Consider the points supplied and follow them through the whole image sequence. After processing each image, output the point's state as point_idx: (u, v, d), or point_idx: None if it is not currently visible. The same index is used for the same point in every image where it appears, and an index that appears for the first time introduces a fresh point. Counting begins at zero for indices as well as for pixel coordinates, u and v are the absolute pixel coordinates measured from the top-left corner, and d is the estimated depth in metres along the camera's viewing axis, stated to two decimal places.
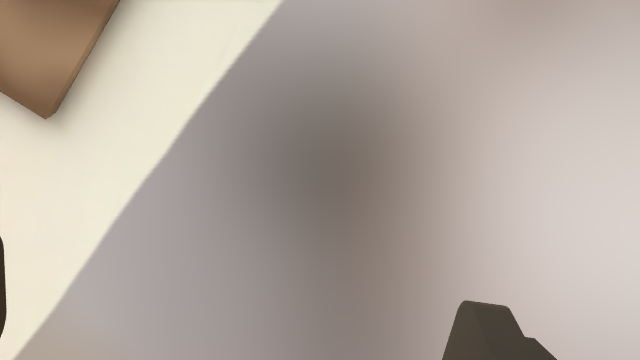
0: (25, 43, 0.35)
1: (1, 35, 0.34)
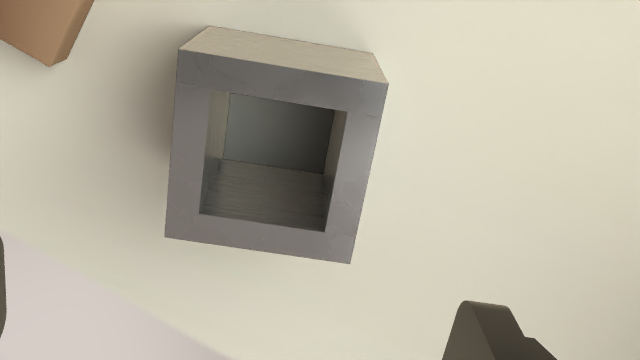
0: None
1: None
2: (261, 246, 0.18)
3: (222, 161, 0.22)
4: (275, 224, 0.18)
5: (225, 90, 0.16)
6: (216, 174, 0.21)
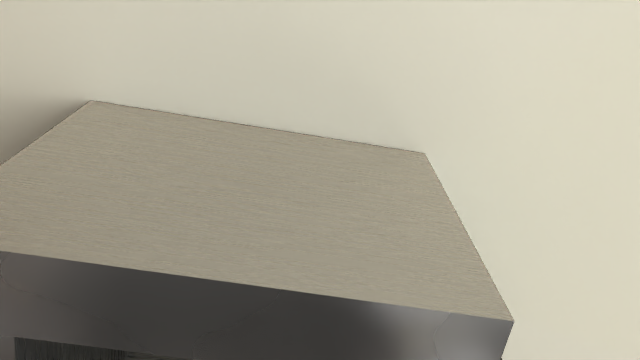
0: None
1: None
2: None
3: None
4: None
5: (56, 338, 0.06)
6: None
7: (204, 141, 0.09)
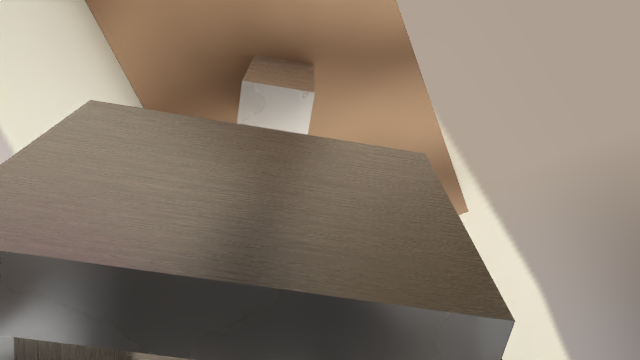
0: None
1: None
2: None
3: None
4: None
5: (55, 338, 0.06)
6: None
7: (204, 141, 0.09)
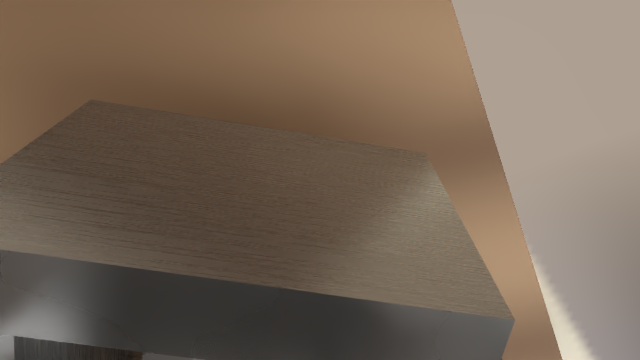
0: (26, 51, 0.13)
1: (70, 7, 0.12)
2: None
3: None
4: None
5: (55, 337, 0.06)
6: None
7: (204, 140, 0.09)
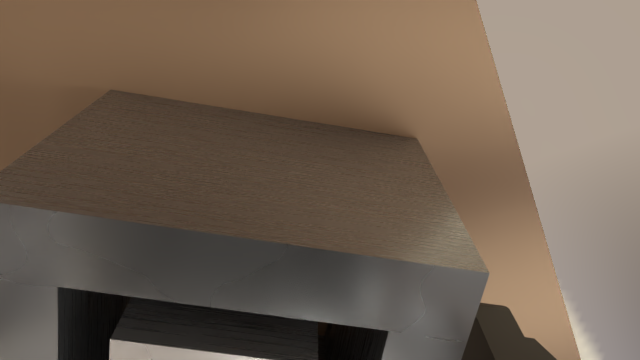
0: None
1: (29, 15, 0.10)
2: None
3: None
4: None
5: (93, 288, 0.07)
6: None
7: (216, 125, 0.10)
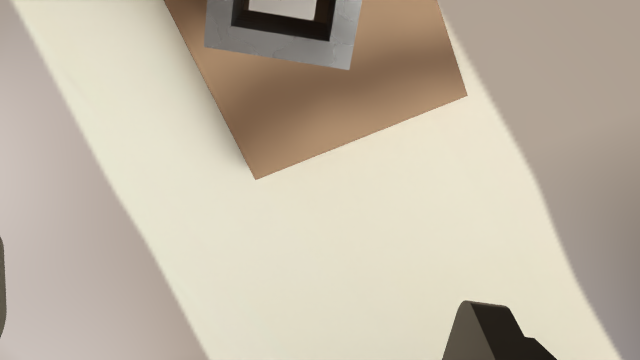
0: None
1: None
2: (279, 55, 0.23)
3: (243, 10, 0.27)
4: (290, 35, 0.23)
5: None
6: (240, 14, 0.26)
7: None
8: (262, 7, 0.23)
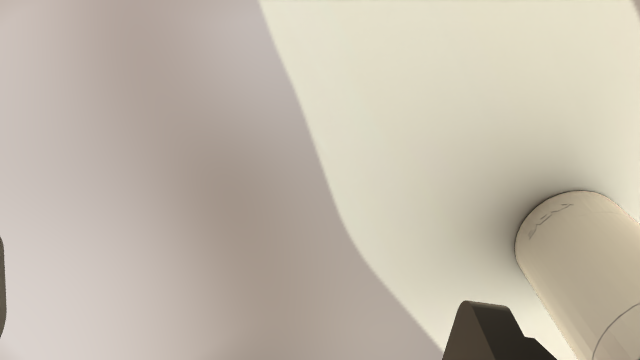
0: None
1: None
2: None
3: None
4: None
5: None
6: None
7: None
8: None
